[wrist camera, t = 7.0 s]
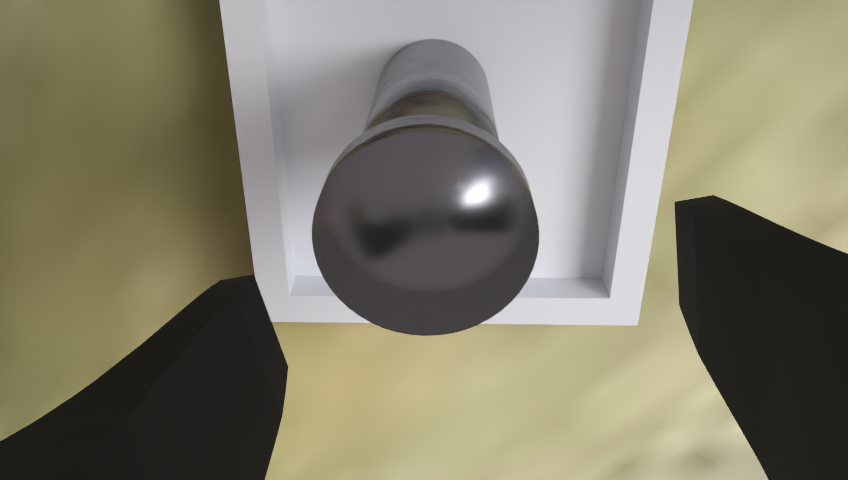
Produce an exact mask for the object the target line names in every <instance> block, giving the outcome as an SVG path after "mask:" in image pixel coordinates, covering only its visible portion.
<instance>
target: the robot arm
mask: <svg viewBox="0 0 848 480" xmlns="http://www.w3.org/2000/svg"><path fill="white" fill-rule="evenodd" d="M675 221H676V242H677V264H678V285H679V306H680V308H681V311H682V314H683V316H684V319H685V322H686V324H687V327H688V329H689V332H690V335H691V337H692V340H693V342H694V344H695V347H696V349H697V352H698V354H699V356H700V358H701V360H702V362H703V363H704V365H705V367H706V369H707V371H708V372H709V374H710V376H711V378H712V379H713V381H714V383H715V385H716V387H717V388H718V390H719V392H720V394H721V395H722V397H723V399H724V401H725V402H726V404H727V406H728V408H729V409H730V411H731V413H732V415H733V416H734V418H735V420H736V421H737V423H738V425H739V427H740V428H741V430H742V432H743V434H744V435H745V437H746V439H747V441H748V442H749V444H750V446H751V448H752V449H753V451H754V453H755V455H756V456H757V458H758V460H759V462H760V464H761V466H762V468H763V470H764V472H765V473H766V475H767V477H768V479H769V480H848V254H847V253H844V252H841V251H839V250H836V249H834V248H831V247H829V246H826V245H824V244H821V243H819V242H817V241H814V240H812V239H809V238H807V237H805V236H803V235H800V234H798V233H796V232H794V231H791V230H789V229H787V228H785V227H783V226H780V225H778V224H776V223H774V222H772V221H770V220H768V219H765V218H763V217H761V216H759V215H757V214H755V213H753V212H751V211H748V210H746V209H744V208H742V207H740V206H738V205H736V204H733V203H731V202H729V201H727V200H724V199H722V198H719V197H716V196H713V195H712V196H706V197H701V198H695V199H689V200H683V201H678V202H675ZM287 372H288V365H287V363H286V360H285V357H284V354H283V352H282V349H281V346H280V344H279V341H278V338H277V336H276V333H275V330H274V328H273V325H272V322H271V319H270V317H269V314H268V311H267V309H266V306H265V303H264V301H263V298H262V295H261V293H260V290H259V287H258V284H257V282H256V279H255V276H254V275H249V276H243V277H237V278H231V279H225V280H221V281H219V282H217V283H216V284H214V285H213V286H211V287H210V288H209V289H207V290H206V291H205V292H203V293H202V294H201V295H200V296H198V297H197V298H196V299H195V300H193V301H192V302H191V303H190V304H189V305H187V306H186V307H185V308H184V309H183V310H182V311H180V312H179V313H178V314H177V315H176V316H174V317H173V318H172V319H171V320H170V321H169V322H167V323H166V324H165V325H164V326H163V327H161V328H160V329H159V330H158V331H157V332H156V333H154V334H153V335H152V336H151V337H150V338H148V339H147V340H146V341H145V342H144V343H142V344H141V345H140V346H139V347H138V348H136V349H135V350H134V351H132V352H131V353H130V354H129V355H127V356H126V357H125V358H123V359H122V360H121V361H120V362H118V363H117V364H116V365H115V366H113V367H112V368H111V369H109V370H108V371H107V372H106V373H104V374H103V375H102V376H101V377H99V378H98V379H97V380H95V381H94V382H93V383H91V384H90V385H88V386H87V387H86V388H84V389H83V390H82V391H80V392H79V393H77V394H76V395H74V396H73V397H72V398H70V399H69V400H67V401H66V402H64V403H63V404H61V405H59V406H58V407H56V408H55V409H53V410H52V411H50V412H49V413H47V414H46V415H44V416H43V417H41V418H40V419H38V420H36V421H35V422H33V423H32V424H30V425H28V426H27V427H25V428H23V429H21V430H20V431H18V432H16V433H14V434H13V435H11V436H9V437H7V438H6V439H4V440H2V441H0V480H265V476H266V473H267V469H268V466H269V462H270V459H271V455H272V451H273V448H274V444H275V441H276V437H277V433H278V430H279V426H280V422H281V418H282V413H283V406H284V399H285V391H286V381H287Z"/></svg>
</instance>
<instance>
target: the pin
mask: <svg viewBox="0 0 848 480" xmlns="http://www.w3.org/2000/svg"><path fill="white" fill-rule="evenodd" d="M312 244H313V251H314V255H315V258H316V262H317V265H318V267H319V270H320V272H321V274H322V276H323V278H324V280H325V281H326V283H327V284H328V286H329V288H330V289H331V290H332V291H333V293H334V294H335V295H336V296H337V297H338V299H339V300H340V301H342V302H343V303H344V304H345V305H346V306H347V307H348V308H349V309H351V310H352V311H353V312H355V313H356V314H357V315H359V316H360V317H362V318H364V319H366V320H367V321H369V322H371V323H373V324H375V325H378V326H380V327H383V328H385V329H389V330H392V331H395V332H400V333H405V334H411V335H424V336H425V335H442V334H449V333H454V332H458V331H462V330H466V329H468V328H471V327H473V326H476V325H479V324H480V323H482V322H484V321H486V320H488V319H490V318H491V317H493V316H494V315H496V314H497V313H499V312H500V311H502V310H503V309H504V308H505V307H506V306H507V305H508V304H510V303H511V302H512V301H513V299H514V298H515V297H516V296H517V295H518V294H519V293H520V291H521V290H522V288H523V287H524V285H525V284H526V282H527V281H528V278H529V276H530V274H531V272H532V270H533V267H534V264H535V261H536V258H537V253H538V247H539V225H538V218H537V214H536V210H535V206H534V202H533V198H532V194H531V191H530V187H529V184H528V181H527V178H526V176H525V174H524V172H523V170H522V168H521V166H520V165H519V163H518V162H517V160H516V158H515V157H514V156H513V155H512V154H511V152H510V151H509V150H508V149H507V148H506V147H505V146H504V145H503V144H502V143H501V142H500V141H499V138H498V133H497V128H496V122H495V117H494V112H493V107H492V101H491V96H490V91H489V86H488V81H487V78H486V74H485V72H484V70H483V68H482V66H481V65H480V63H479V62H478V60H477V59H476V58H475V57H474V56H473V55H472V54H471V53H470V52H469V51H468V50H466V49H465V48H463V47H462V46H460V45H458V44H456V43H453V42H450V41H446V40H442V39H425V40H419V41H416V42H413V43H411V44H409V45H406V46H405V47H403V48H402V49H400V50H399V51H397V52H396V53H395V54H394V55H393V56H392V57H391V58H390V59H389V61H388V62H387V64H386V65H385V67H384V68H383V71H382V73H381V75H380V78H379V82H378V85H377V88H376V91H375V95H374V98H373V101H372V104H371V108H370V111H369V114H368V118H367V121H366V124H365V127H364V131H363V134H361V135H359V136H358V137H357V138H356V139H355V140H353V141H352V142H351V143H350V144H349V145H348V146H347V147H346V148H345V149H344V150H343V151H342V153H341V154H340V155H339V156H338V158H337V159H336V161H335V162H334V164H333V165H332V167H331V169H330V171H329V173H328V175H327V178H326V180H325V183H324V185H323V188H322V191H321V193H320V196H319V199H318V201H317V205H316V208H315V211H314V216H313V222H312Z"/></svg>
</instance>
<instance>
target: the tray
mask: <svg viewBox="0 0 848 480" xmlns="http://www.w3.org/2000/svg"><path fill="white" fill-rule="evenodd" d="M219 2H220V9H221V17H222V25H223V33H224V40H225V48H226V56H227V64H228V72H229V79H230V87H231V95H232V103H233V110H234V118H235V126H236V134H237V141H238V149H239V157H240V165H241V172H242V180H243V188H244V196H245V203H246V211H247V219H248V227H249V235H250V242H251V250H252V258H253V266H254V273H255V279H256V282H257V284H258V287H259V290H260V293H261V295H262V298H263V301H264V303H265V306H266V309H267V311H268V314H269V317H270V319H271V322H343V323H371V322H369V321H367V320H366V319H364V318H362V317H360V316H359V315H357V314H356V313H355V312H353V311H352V310H351V309H349V308H348V307H347V306H346V305H345V304H344V303H343V302H342V301H340V300H339V299H338V297H337V296H336V295H335V294H334V293H333V291H332V290H331V289H330V288H329V286H328V284H327V283H326V281H325V280H324V278H323V276H322V274H321V272H320V270H319V267H318V265H317V262H316V258H315V255H314V251H313V244H312V222H313V216H314V211H315V208H316V205H317V201H318V199H319V196H320V193H321V191H322V188H323V185H324V183H325V180H326V178H327V175H328V173H329V171H330V169H331V167H332V165H333V164H334V162H335V161H336V159H337V158H338V156H339V155H340V154H341V153H342V151H343V150H344V149H345V148H346V147H347V146H348V145H349V144H350V143H351V142H352V141H353V140H355V139H356V138H357V137H358V136H359V135H361V134H363V131H364V127H365V124H366V121H367V118H368V114H369V111H370V108H371V104H372V101H373V98H374V95H375V91H376V88H377V85H378V82H379V78H380V75H381V73H382V71H383V68H384V67H385V65H386V64H387V62H388V61H389V59H390V58H391V57H392V56H393V55H394V54H395V53H396V52H397V51H399V50H400V49H402V48H403V47H405V46H406V45H409V44H411V43H413V42H416V41H419V40H425V39H442V40H446V41H450V42H453V43H456V44H458V45H460V46H462V47H463V48H465V49H466V50H468V51H469V52H470V53H471V54H472V55H473V56H474V57H475V58H476V59H477V60H478V62H479V63H480V65H481V66H482V68H483V70H484V72H485V74H486V78H487V81H488V86H489V91H490V96H491V101H492V107H493V112H494V117H495V122H496V128H497V133H498V138H499V141H500V142H501V143H502V144H503V145H504V146H505V147H506V148H507V149H508V150H509V151H510V152H511V154H512V155H513V156H514V157H515V158H516V160H517V162H518V163H519V165H520V166H521V168H522V170H523V172H524V174H525V176H526V178H527V181H528V184H529V187H530V191H531V194H532V198H533V202H534V206H535V210H536V214H537V218H538V225H539V247H538V253H537V258H536V261H535V264H534V267H533V270H532V272H531V274H530V276H529V278H528V281H527V282H526V284H525V285H524V287H523V288H522V290H521V291H520V293H519V294H518V295H517V296H516V297H515V298H514V299H513V301H512V302H511V303H510V304H508V305H507V306H506V307H505V308H504V309H503V310H502V311H500V312H499V313H497V314H496V315H494V316H493V317H491V318H490V319H488V320H486V321H484V322H482V323H480V324H554V325H638V319H639V313H640V308H641V302H642V296H643V290H644V284H645V279H646V273H647V267H648V261H649V255H650V250H651V244H652V238H653V232H654V226H655V221H656V215H657V209H658V203H659V197H660V192H661V186H662V180H663V174H664V168H665V163H666V157H667V151H668V145H669V139H670V133H671V128H672V122H673V116H674V110H675V104H676V99H677V93H678V87H679V81H680V75H681V70H682V64H683V58H684V52H685V46H686V41H687V35H688V29H689V23H690V17H691V12H692V6H693V0H219Z"/></svg>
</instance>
